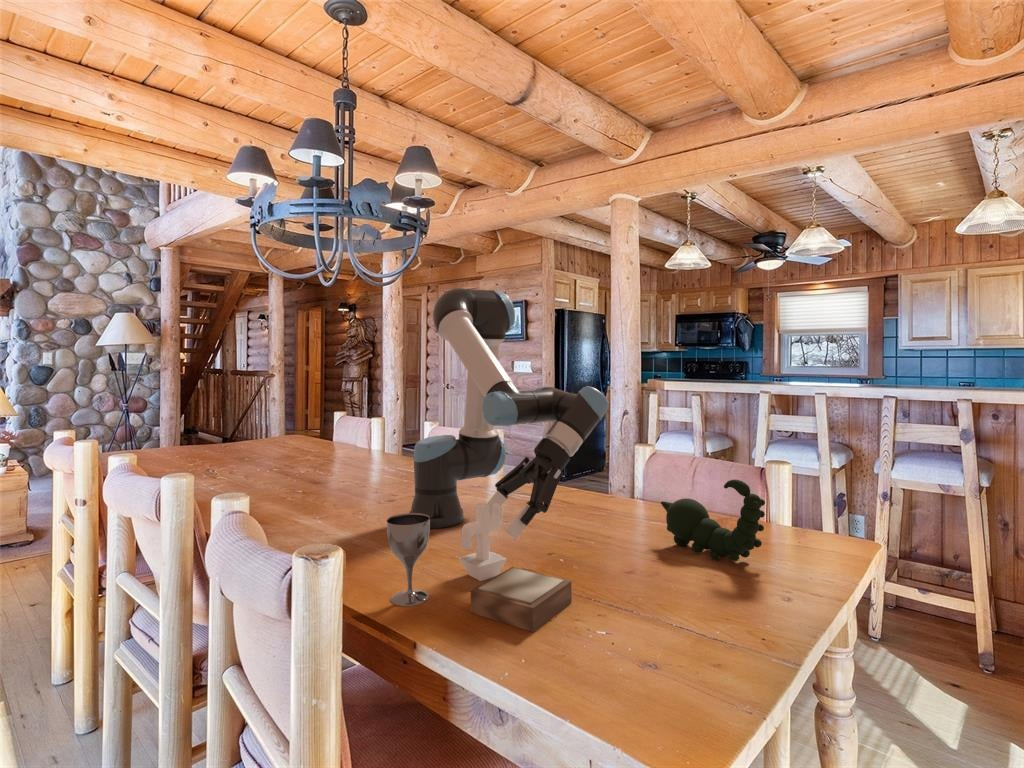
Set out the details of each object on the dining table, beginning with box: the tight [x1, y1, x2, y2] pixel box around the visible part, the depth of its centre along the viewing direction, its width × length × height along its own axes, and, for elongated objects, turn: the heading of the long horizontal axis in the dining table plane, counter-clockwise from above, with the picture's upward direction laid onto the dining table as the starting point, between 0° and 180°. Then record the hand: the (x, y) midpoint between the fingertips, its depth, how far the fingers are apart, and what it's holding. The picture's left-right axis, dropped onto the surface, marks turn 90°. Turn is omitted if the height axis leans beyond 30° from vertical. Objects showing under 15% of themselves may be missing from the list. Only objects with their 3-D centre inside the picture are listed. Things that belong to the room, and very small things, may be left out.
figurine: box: [458, 502, 508, 582], centre depth 112 cm, size 7×9×15 cm
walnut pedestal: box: [470, 566, 573, 633], centre depth 97 cm, size 13×13×4 cm
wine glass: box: [386, 512, 431, 607], centre depth 102 cm, size 8×8×15 cm
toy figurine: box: [660, 479, 766, 562], centre depth 124 cm, size 10×19×26 cm
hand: (496, 526), depth 112 cm, fingers open, 13 cm apart
